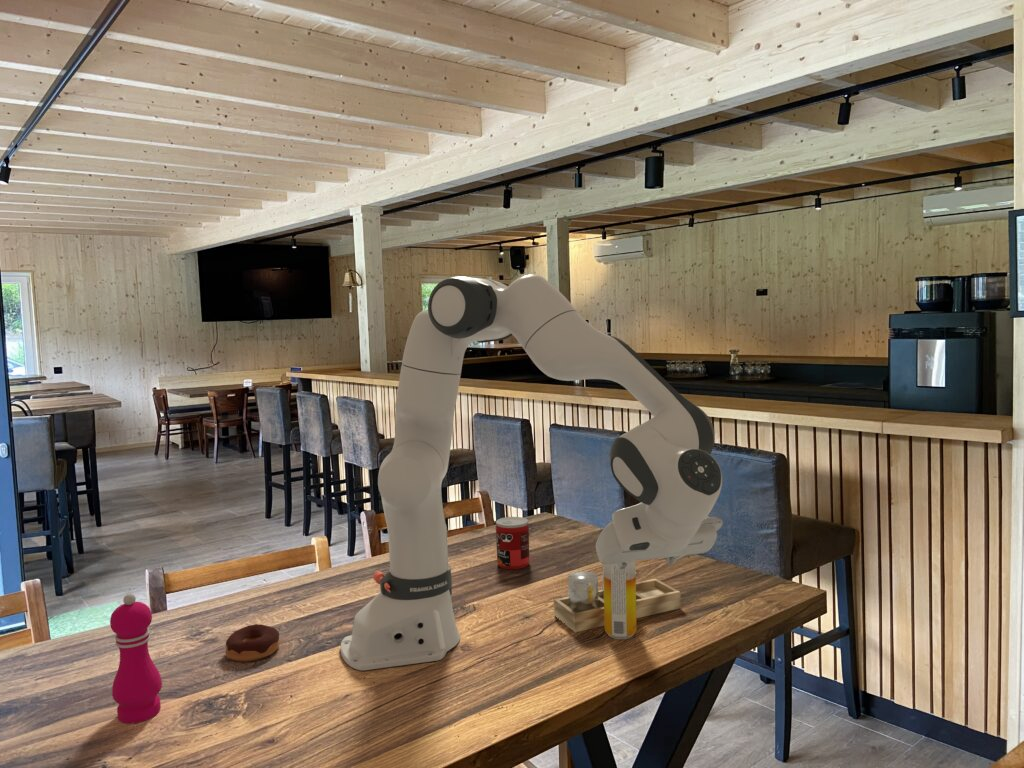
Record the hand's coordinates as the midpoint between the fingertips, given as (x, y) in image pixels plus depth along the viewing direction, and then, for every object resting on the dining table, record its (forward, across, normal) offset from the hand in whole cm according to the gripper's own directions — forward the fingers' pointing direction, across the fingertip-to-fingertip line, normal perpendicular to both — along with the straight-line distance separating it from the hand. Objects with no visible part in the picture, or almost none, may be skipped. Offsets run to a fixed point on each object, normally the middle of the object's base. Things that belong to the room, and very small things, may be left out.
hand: (644, 562), depth 134 cm
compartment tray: (+28, -3, -3) cm, 28 cm away
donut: (+32, +68, -5) cm, 76 cm away
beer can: (+21, 0, +4) cm, 22 cm away
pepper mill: (+19, +85, +7) cm, 87 cm away
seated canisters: (+26, +1, -4) cm, 26 cm away
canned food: (+53, +10, -27) cm, 61 cm away
